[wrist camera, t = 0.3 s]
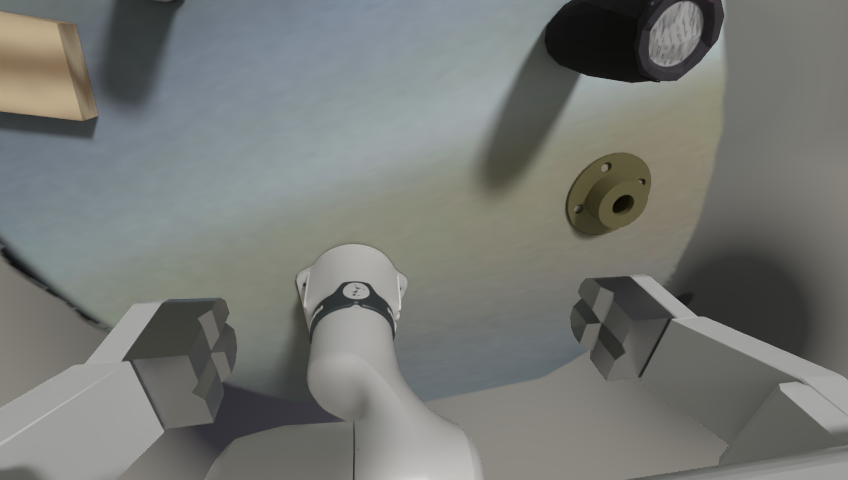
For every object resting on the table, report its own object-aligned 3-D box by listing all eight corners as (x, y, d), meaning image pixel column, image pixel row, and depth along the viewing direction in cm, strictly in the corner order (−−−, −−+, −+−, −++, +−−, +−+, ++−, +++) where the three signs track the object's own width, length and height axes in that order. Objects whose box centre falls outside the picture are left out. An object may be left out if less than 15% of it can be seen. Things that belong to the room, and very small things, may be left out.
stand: (98, 115, 45) (82, 121, 43) (-1, 103, 43) (-24, 108, 40) (75, 23, 40) (56, 23, 38) (-37, 4, 38) (-65, 3, 36)
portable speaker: (566, 83, 52) (664, 108, 36) (527, 33, 48) (617, 35, 32) (614, 33, 50) (743, 35, 33) (578, -24, 46) (704, -55, 29)
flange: (585, 257, 64) (667, 224, 63) (573, 183, 56) (666, 145, 55) (572, 244, 68) (648, 212, 67) (559, 173, 60) (645, 137, 59)
